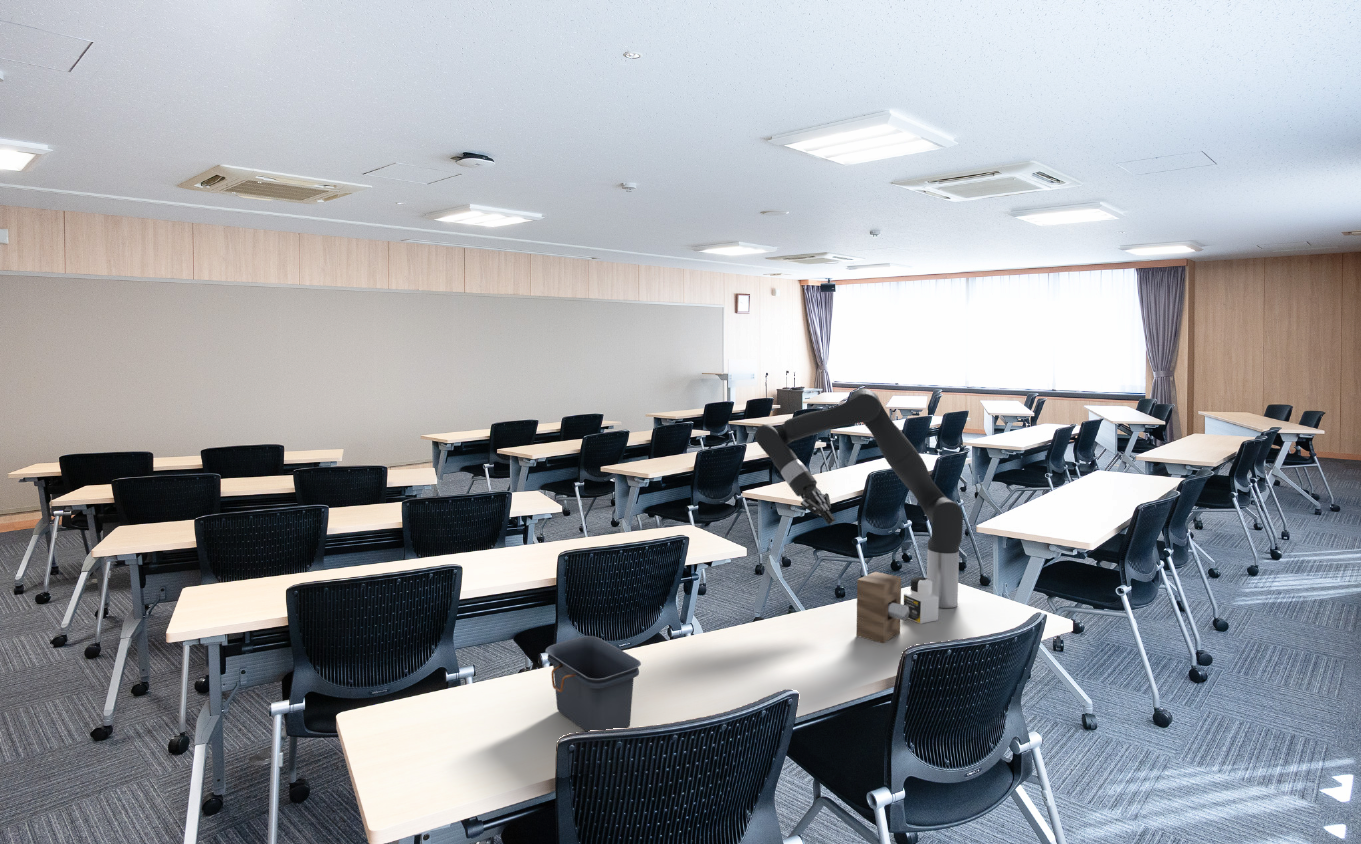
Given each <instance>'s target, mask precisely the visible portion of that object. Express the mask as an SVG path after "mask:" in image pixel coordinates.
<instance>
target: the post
mask: <svg viewBox="0 0 1361 844" xmlns="http://www.w3.org/2000/svg"><path fill="white" fill-rule="evenodd" d="M856 581H857V582H856V583H857V587H856V589H857V592H856V635H857V637H859V636H861V637H860V638H863V639H866V638H868V639H867V640H870V641H874V640H875V641H874V642H878V643H881V644H884V643H885V641H886V642H887V641H889V640H890V638H891V639H892V638H894V637H896V636H898V635H899V634H901V619H897V618H893V617H889V616H888V603H889V602H894V603H898V604H902V603H901V602H902V600H901V599H902V576H897V575H891V574H887V573H882V572H878V571H873V572H872V573H871V572H870V573H869V574H867V575H865V576H862V577H860V578H858V579H856ZM897 634H898V635H897ZM856 635H855V636H856ZM893 636H894V637H893Z"/></svg>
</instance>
